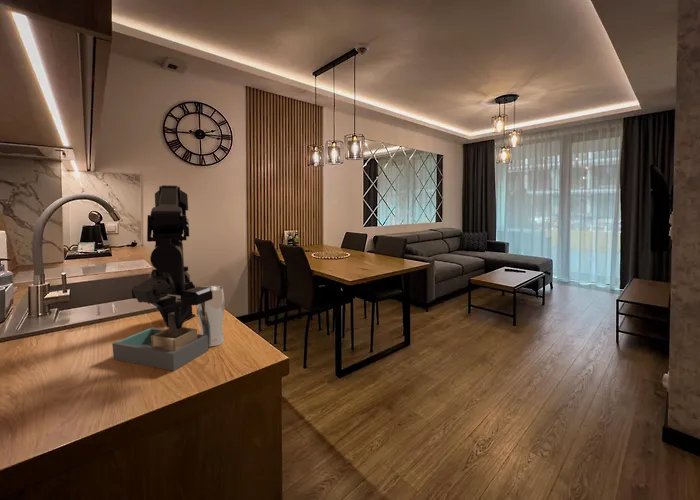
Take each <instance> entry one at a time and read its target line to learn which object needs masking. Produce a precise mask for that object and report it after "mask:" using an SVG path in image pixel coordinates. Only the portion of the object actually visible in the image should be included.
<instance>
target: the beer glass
mask: <svg viewBox="0 0 700 500" xmlns="http://www.w3.org/2000/svg"><path fill="white" fill-rule="evenodd" d="M202 287H206V288H210V289H211V290H212V296H213V299H211V300H209V301H206V302H204V303H201V304H198V305H195V306H196V307H195V308H196V313H197V318H198V321H199V327H200V331H201V332H200V335H207V336H208V348H212V347H217V346H220V345H222V344H223V343H224V342H225V336H224V332H223V331H224V330H223V324H224V323H223V322H224V316H225V307H226V306H225V302H226V301H225V294H224V292H225V291H224V287H223V286H222V285H217V284H216V285H215V284H213V285H212V284H211V285H204V286H202Z"/></svg>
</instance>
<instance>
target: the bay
mask: <svg viewBox="0 0 700 500" xmlns="http://www.w3.org/2000/svg"><path fill="white" fill-rule="evenodd" d="M166 329H167V328H166ZM166 329H165V328H159V327H153V326H152V327H149V328H147V329H145V330H142V331H139V332H137V333H135V334H132V335H129V336H126V337H125V338H122V339H120V340H117V341H115V342H113V343H112V354H113V355H112V356H113V360H114V361H115V360H116V361H120V362H125V363H131V364H135V365H142V366H146V367H151V368H157V369H163V370H167V371H173V372H175V371H177V370H178V369H180V368H182V367H184V366H185V365H187V364H188V363H191V362H192V361H194V360H195V359H196V358H198V357H200V356H201V355H203V354H205V353H207V352H208V351H209V347H208V336H207V335H201V333H200V334H198V333H197V335H198V339H196V340H194V341H192V342H190V343H188V344H187V345H185V346H183V347H181V348H179V349H177V350H175V351H167V350H161V349H155V348H152V345H151V336H152V335H155V334H157V333H159V332H162V331H164V330H166Z"/></svg>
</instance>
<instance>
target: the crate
mask: <svg viewBox="0 0 700 500" xmlns="http://www.w3.org/2000/svg"><path fill="white" fill-rule="evenodd" d="M168 326H169V328H168V327H167V328H166V330H164V331H162V332H159V333H157V334H155V335H152V336H151V345H152V348H155V349H161V350H167V351H175V350H177V349H179V348H181V347H183V346H185V345H187V344H188V343H190V342H192V341H194V340H196V339H198V335H197V334H198V328H193V327H185V326H182V327H181V328H180V329H177V328H176V323H175V314H174V312H172V313H169V314H168Z"/></svg>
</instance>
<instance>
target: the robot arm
mask: <svg viewBox="0 0 700 500" xmlns="http://www.w3.org/2000/svg"><path fill="white" fill-rule="evenodd" d="M188 198H189V196H188V194H187V193H186V192H185V191H183V190H181V187H180V186H178V185H166V184H165V185H159V189H158V191H156V192H155V193H154V207H152V208H151V210H150V214H147V219H146V220H147V228H146V229H147V231H146V234H147V235H146V241H147V242H155V244H154V249H153V250H152V252H151V254H150V257H149V258H150V263H151V266H152V267H153V268H154V269H151V271H150V275H151V277H150V278H148V279H145V280H144V281H143V282H141V283H139V284H138V285H134V287H133V288H132V289H131V299H136V300H137V302H138V303H147V304H148V305H152V306H154V307H156V308H157V311H159V314H160V315H161V317H162V319H163V321H164V324H165V325H166V328H167V329H168V328H169V326H168V314H169V313H172V312H174V314H175V323H176V328H177V329H180V328H181V327H183V325H184V322H185V321H187V320H190V319H192V318H194V317H196V314H195V313H194V314H193V306H196V305H198V304H201V303H204V302H206V301H209V300H211V299H213V296H212V290H211V289H210V288H206V287H203V286H196V285H195V284H194V283H193V281H191V276H190V274H189V272H188V271H189V266H185V261H184V244H183V241H187V240H188V239H187V237H188V238H189V237H190V224H189V222H190V221H189V220H190V219H189V218H187V211H189V199H188Z"/></svg>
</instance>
